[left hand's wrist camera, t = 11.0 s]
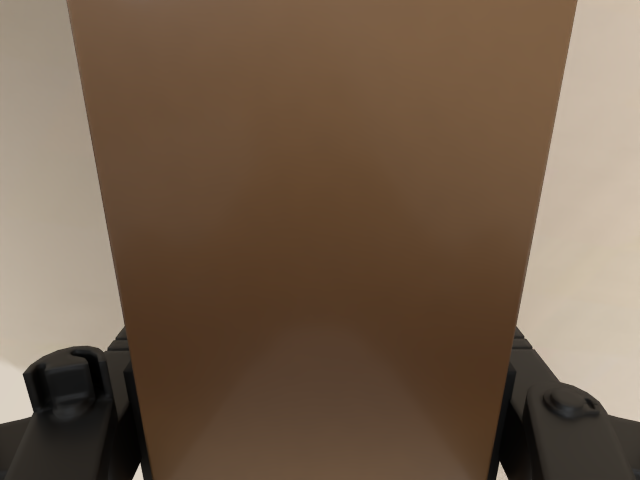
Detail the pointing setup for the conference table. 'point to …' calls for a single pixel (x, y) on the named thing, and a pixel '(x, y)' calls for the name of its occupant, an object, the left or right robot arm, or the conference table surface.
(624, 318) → the conference table surface
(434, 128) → the bar
